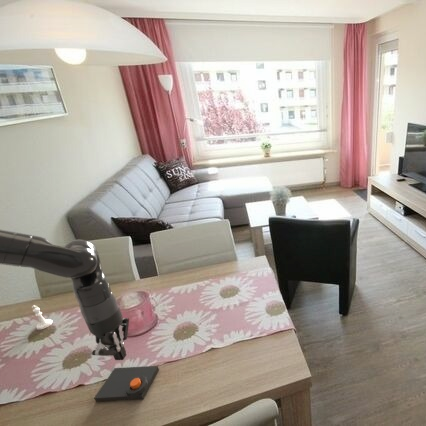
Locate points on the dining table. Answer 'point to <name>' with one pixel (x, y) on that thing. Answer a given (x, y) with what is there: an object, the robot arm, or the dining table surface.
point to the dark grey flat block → (126, 384)
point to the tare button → (135, 383)
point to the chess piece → (41, 319)
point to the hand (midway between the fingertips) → (121, 358)
